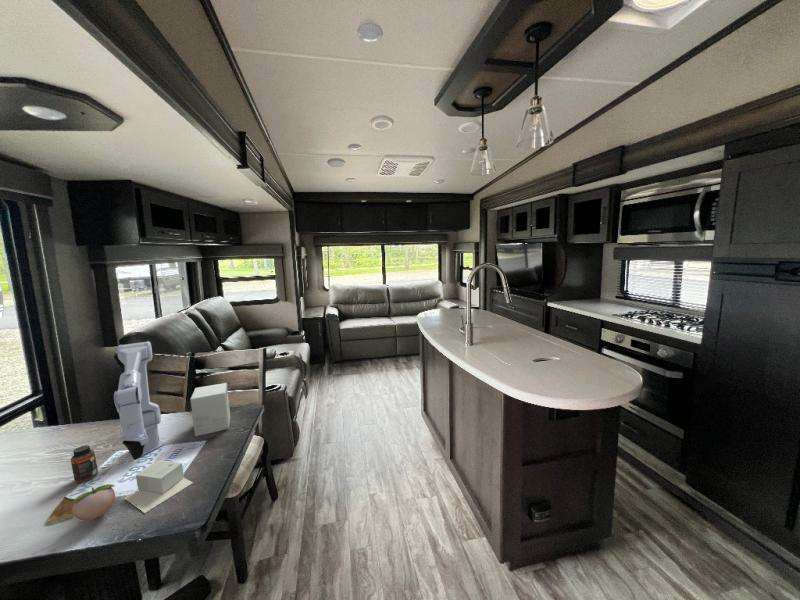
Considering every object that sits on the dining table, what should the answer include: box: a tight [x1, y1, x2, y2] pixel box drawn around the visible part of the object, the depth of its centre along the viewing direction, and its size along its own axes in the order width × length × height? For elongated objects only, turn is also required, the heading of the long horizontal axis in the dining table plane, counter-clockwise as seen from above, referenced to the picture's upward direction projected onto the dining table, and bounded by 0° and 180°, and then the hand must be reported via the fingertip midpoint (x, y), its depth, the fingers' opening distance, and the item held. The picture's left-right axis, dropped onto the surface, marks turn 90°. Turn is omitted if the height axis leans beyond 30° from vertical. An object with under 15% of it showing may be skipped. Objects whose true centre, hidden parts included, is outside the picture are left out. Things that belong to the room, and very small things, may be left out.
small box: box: [135, 459, 185, 493], centre depth 105 cm, size 8×6×10 cm
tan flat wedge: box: [46, 496, 75, 525], centre depth 97 cm, size 11×8×2 cm
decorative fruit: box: [71, 483, 116, 522], centre depth 92 cm, size 9×8×10 cm
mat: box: [123, 476, 194, 514], centre depth 103 cm, size 13×14×1 cm
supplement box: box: [190, 382, 231, 437], centre depth 141 cm, size 13×13×18 cm
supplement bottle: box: [70, 444, 99, 483], centre depth 109 cm, size 6×6×11 cm
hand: (137, 457), depth 107 cm, fingers closed
